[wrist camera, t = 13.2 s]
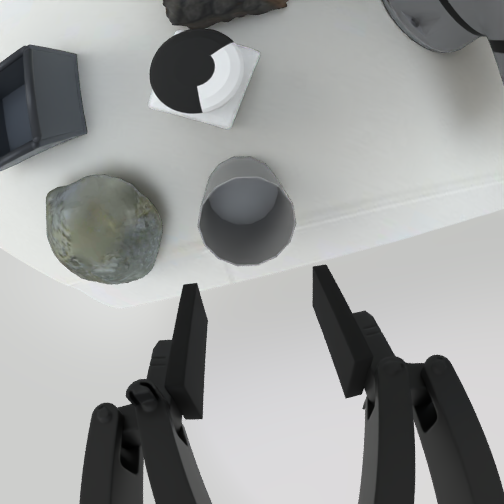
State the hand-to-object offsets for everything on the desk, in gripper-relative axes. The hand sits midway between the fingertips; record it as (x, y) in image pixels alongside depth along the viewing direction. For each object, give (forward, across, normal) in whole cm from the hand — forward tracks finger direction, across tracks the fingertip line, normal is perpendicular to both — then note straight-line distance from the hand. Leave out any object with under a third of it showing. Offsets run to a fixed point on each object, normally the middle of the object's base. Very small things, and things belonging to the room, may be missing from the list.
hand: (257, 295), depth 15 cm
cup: (+20, 0, 0) cm, 20 cm away
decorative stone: (+20, +17, +1) cm, 26 cm away
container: (+20, +2, -13) cm, 24 cm away
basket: (+15, +24, -22) cm, 36 cm away
